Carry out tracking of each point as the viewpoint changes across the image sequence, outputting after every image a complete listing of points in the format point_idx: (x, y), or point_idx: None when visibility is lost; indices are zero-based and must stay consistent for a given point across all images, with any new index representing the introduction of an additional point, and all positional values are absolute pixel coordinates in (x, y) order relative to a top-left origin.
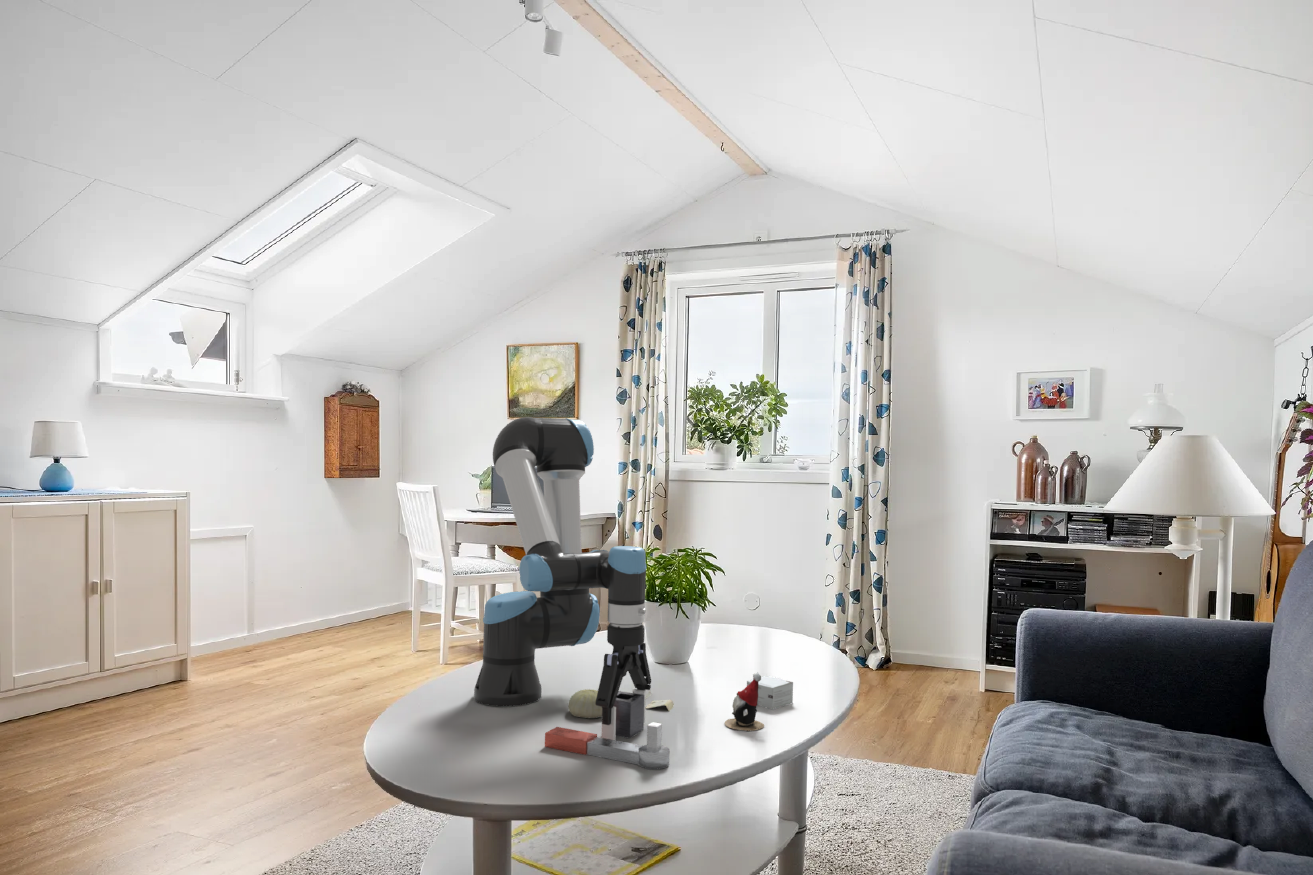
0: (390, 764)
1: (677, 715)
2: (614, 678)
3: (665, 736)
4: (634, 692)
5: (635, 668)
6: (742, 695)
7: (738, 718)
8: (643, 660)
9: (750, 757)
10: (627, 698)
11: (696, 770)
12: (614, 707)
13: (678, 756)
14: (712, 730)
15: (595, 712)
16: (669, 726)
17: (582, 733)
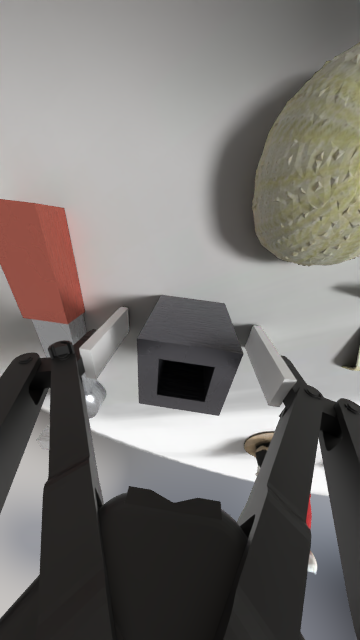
0: None
1: (310, 382)
2: (8, 482)
3: None
4: (277, 377)
5: (245, 511)
6: None
7: (261, 455)
8: (344, 570)
9: (160, 449)
10: (208, 374)
11: (99, 421)
12: (90, 377)
13: (125, 405)
14: (237, 423)
15: (258, 237)
16: (241, 381)
17: (48, 295)
